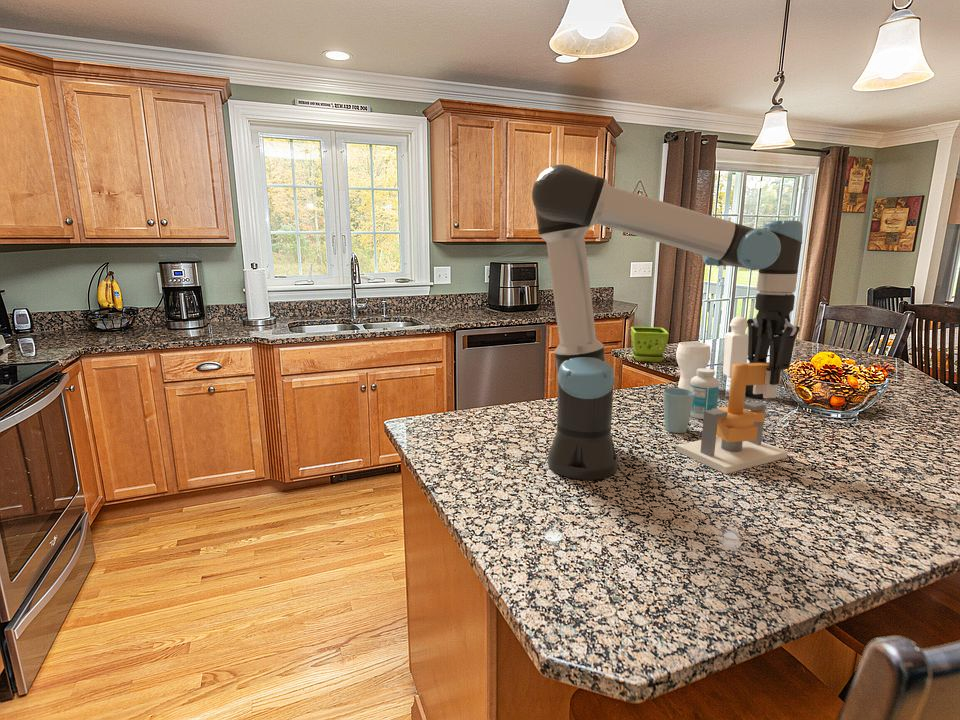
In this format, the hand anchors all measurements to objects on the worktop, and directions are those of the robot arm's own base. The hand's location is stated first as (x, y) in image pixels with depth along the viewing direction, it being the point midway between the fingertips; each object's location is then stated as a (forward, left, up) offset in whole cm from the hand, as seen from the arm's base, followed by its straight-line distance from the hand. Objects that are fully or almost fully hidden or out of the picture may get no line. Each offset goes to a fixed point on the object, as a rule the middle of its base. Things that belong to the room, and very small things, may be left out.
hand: (764, 395), depth 122 cm
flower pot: (+47, +88, -14) cm, 101 cm away
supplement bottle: (+40, +32, -14) cm, 54 cm away
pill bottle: (+9, +25, -14) cm, 30 cm away
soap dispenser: (+56, +53, -14) cm, 79 cm away
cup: (-6, +20, -14) cm, 25 cm away
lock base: (-7, +2, -14) cm, 16 cm away
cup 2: (+29, +48, -14) cm, 58 cm away
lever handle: (-5, +2, -9) cm, 11 cm away
